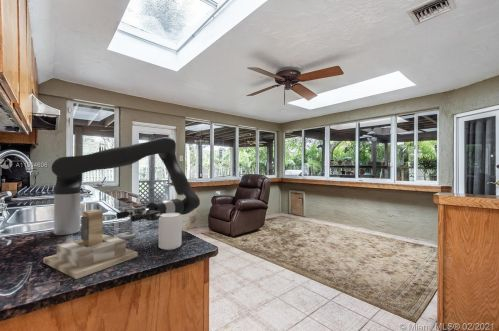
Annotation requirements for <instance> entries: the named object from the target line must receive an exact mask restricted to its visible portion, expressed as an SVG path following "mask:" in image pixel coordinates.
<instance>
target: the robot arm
mask: <svg viewBox="0 0 499 331" xmlns="http://www.w3.org/2000/svg"><path fill="white" fill-rule="evenodd" d="M176 148H177V144H176V141H175V140H174V138H171V137H168V136H165V137H159V138H156V139H152V140H149V141H145V142H144V141H143V142H139V143H135V144H129V145H123V146H122V145H121V146H118V147H112V148H107V149H104V150H99V151H97V152H92V153H88V154H81V155H70V156H62V157H61V156H60V157H58V158H57V159H55V160H54V161H53V163H52V164H51V172H52V173H53V175H55V176H56V184H55V186H54V190H53V204H54V205H53V223H54V224H53V235H56V236H65V235H72V234H76V233H79V232H81V209H82V208H81V200H82V199H81V198H82V197H81V194H82V193H81V189H82V184H83V183H82V182H83V181H82V180H83V179H82V178H83V174H85V173H88V172H92V171H99V170H100V171H101V170H108V169H116V168H122V167H126V166H130V165H133V164H135V163H137V162H139V161H141V160H142V159H144V158H147V157H149V156H154V155H158V157H159V158H160V160H161V161H162V163H163V164H164V166H165V168H166V169H167V170H166V171H167V172H168V174H169V177H170V180H171V183H172V185H173V188H174V191H175V192H176V194H177V195H178V196H182V195H184V197H185V198H183V199H179V198H172V199H164V200H158V201H151V202H149V203H148V204H147V205H146V206H143V207H133V208H126V209H124V211H119V212H116V215H115V216H116V219H118V220H119V219H124V218H130V222H132V223H134V222H138V221H139V222H140V221H147V222H149V221H151V222H152V221H153V222H154V221H159V218H160V215H161V214H164V213H180V216H182V215H188V214H191V212H193V211H194V210H196V209H197V208H199V206H200V205H201V204H200V203H201V202H200V198H199V196H198V194H197V193H196V192H195V191H194V190H193V188H192V187H191V185H190V184H189V180H188V178H187V176H186V174H185V172H184V171H183V170H182V168H181V166H180V165H179V163H178V160H177V154H176V152H177V151H176Z"/></svg>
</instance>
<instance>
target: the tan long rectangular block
mask: <svg viewBox="0 0 499 331" xmlns="http://www.w3.org/2000/svg"><path fill="white" fill-rule="evenodd" d="M103 213H104V211H103V210H101V209H91V210H84V211H82V213H81V214H82V216H80V239H82V246H85V247H90V246H93V245H97V244H100V243H103V234H104V233H103V230H104V229H103V226H104V225H103V224H104V222H103V219H104V218H103V215H104V214H103Z"/></svg>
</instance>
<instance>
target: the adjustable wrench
mask: <svg viewBox="0 0 499 331" xmlns="http://www.w3.org/2000/svg"><path fill="white" fill-rule="evenodd" d="M113 237H116V238H120V239H123V240H131V239H134V238H136V237H137V232H134V233H132V234H131V231H127V232H121V233H117V235H114V236H113Z"/></svg>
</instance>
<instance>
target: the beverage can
mask: <svg viewBox="0 0 499 331" xmlns="http://www.w3.org/2000/svg"><path fill="white" fill-rule="evenodd" d="M182 221H183V219H182V215H180V213H164V214H161V215H160V218H159V220H158V248H160V249H161V250H166V251H171V250H176V249H178V248H180V247H181V246H182V241H183V240H182V238H183V237H182V234H183V233H182V232H183V231H182V228H183V227H182V224H183V223H182Z"/></svg>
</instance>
